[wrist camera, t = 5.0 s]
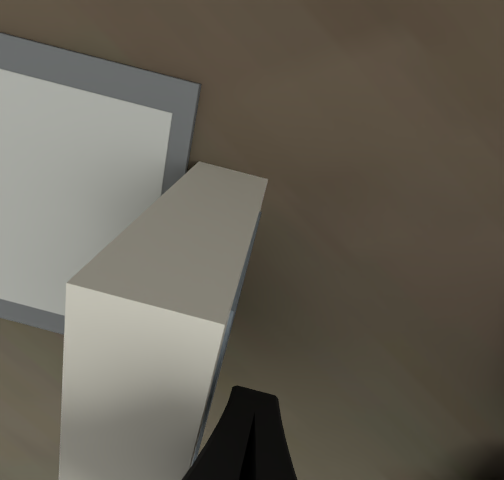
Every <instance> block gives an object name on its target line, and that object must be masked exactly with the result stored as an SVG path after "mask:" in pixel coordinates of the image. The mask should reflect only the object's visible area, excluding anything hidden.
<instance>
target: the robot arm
mask: <svg viewBox="0 0 504 480" xmlns="http://www.w3.org/2000/svg"><path fill="white" fill-rule="evenodd" d="M182 480H297V477H296V474H295V471H294V468H293V464H292V461H291V457H290V454H289V450H288V446H287V442H286V438H285V434H284V430H283V425H282V420H281V415H280V409H279V401H278V398H277V397H276V396H275V395H271V394H267V393H264V392H260V391H256V390H252V389H249V388H245V387H241V386H234V387H232V391H231V394H230V398H229V401H228V403H227V406H226V408H225V410H224V412H223V414H222V416H221V418H220V420H219V422H218V424H217V426H216V427H215V429H214V431H213V433H212V434H211V436H210V438H209V440H208V441H207V443H206V445H205V446H204V448H203V449H202V451H201V452H200V454H199V455H198V457H197V458H196V460H195V461H194V463H193V464H192V466H191V467H190V469H189V470H188V471H187V473H186V474H185V476H184V477H183V478H182Z"/></svg>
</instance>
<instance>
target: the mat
mask: <svg viewBox="0 0 504 480" xmlns="http://www.w3.org/2000/svg"><path fill="white" fill-rule="evenodd" d="M200 89H201V84H199V83H195V82H191V81H187V80H183V79H179V78H175V77H172V76H168V75H164V74H160V73H156V72H152V71H148V70H144V69H141V68H137V67H133V66H129V65H125V64H121V63H117V62H113V61H109V60H106V59H102V58H98V57H94V56H90V55H86V54H82V53H78V52H75V51H71V50H67V49H63V48H59V47H55V46H51V45H47V44H43V43H40V42H36V41H32V40H28V39H24V38H20V37H16V36H12V35H9V34H5V33H1V32H0V318H3V319H7V320H11V321H15V322H19V323H22V324H26V325H30V326H34V327H37V328H41V329H45V330H49V331H52V332H56V333H60V334H64V328H65V302H66V283H67V282H68V281H69V280H70V279H71V278H72V277H73V276H74V275H75V274H77V273H78V272H79V271H80V270H81V269H82V268H83V267H84V266H85V265H86V264H87V263H89V262H90V261H91V260H92V259H93V258H94V257H95V256H96V255H97V254H98V253H99V252H101V251H102V250H103V249H104V248H105V247H106V246H107V245H108V244H109V243H110V242H111V241H113V240H114V239H115V238H116V237H117V236H118V235H119V234H120V233H121V232H122V231H123V230H125V229H126V228H127V227H128V226H129V225H130V224H131V223H132V222H133V221H134V220H135V219H137V218H138V217H139V216H140V215H141V214H142V213H143V212H144V211H145V210H146V209H147V208H149V207H150V206H151V205H152V204H153V203H154V202H155V201H156V200H157V199H158V198H159V197H161V196H162V195H163V194H164V193H165V192H166V191H167V190H168V189H169V188H170V187H171V186H173V185H174V184H175V183H176V182H177V181H178V180H179V179H180V178H181V177H182V176H183V175H185V174H186V173H187V168H188V162H189V156H190V150H191V144H192V138H193V132H194V126H195V120H196V114H197V107H198V101H199V95H200Z"/></svg>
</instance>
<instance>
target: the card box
mask: <svg viewBox="0 0 504 480" xmlns="http://www.w3.org/2000/svg"><path fill="white" fill-rule="evenodd" d="M267 182H268V179H265V178H261V177H258V176H254V175H250V174H246V173H242V172H238V171H234V170H231V169H227V168H223V167H219V166H215V165H211V164H207V163H204V162H200V161H199V162H198V163H197V164H195V165H194V166H193V167H192V168H191V169H190V170H189V171H188V172H187V173H186V174H185V175H183V176H182V177H181V178H180V179H179V180H178V181H177V182H176V183H175V184H174V185H173V186H171V187H170V188H169V189H168V190H167V191H166V192H165V193H164V194H163V195H162V196H161V197H159V198H158V199H157V200H156V201H155V202H154V203H153V204H152V205H151V206H150V207H149V208H147V209H146V210H145V211H144V212H143V213H142V214H141V215H140V216H139V217H138V218H137V219H135V220H134V221H133V222H132V223H131V224H130V225H129V226H128V227H127V228H126V229H125V230H123V231H122V232H121V233H120V234H119V235H118V236H117V237H116V238H115V239H114V240H113V241H111V242H110V243H109V244H108V245H107V246H106V247H105V248H104V249H103V250H102V251H101V252H99V253H98V254H97V255H96V256H95V257H94V258H93V259H92V260H91V261H90V262H89V263H87V264H86V265H85V266H84V267H83V268H82V269H81V270H80V271H79V272H78V273H77V274H75V275H74V276H73V277H72V278H71V279H70V280H69V281H68V282H67V283H66V302H65V328H64V354H63V380H62V407H61V433H60V459H59V480H182V478H183V477H184V476H185V474H186V473H187V471H188V470H189V469H190V467H191V466H192V464H193V463H194V461H195V460H196V458H197V455H198V451H199V448H200V444H201V440H202V436H203V433H204V429H205V425H206V422H207V418H208V414H209V410H210V407H211V403H212V399H213V395H214V392H215V388H216V384H217V381H218V377H219V373H220V369H221V366H222V362H223V358H224V354H225V351H226V347H227V343H228V339H229V336H230V332H231V328H232V324H233V320H234V317H235V313H236V309H237V305H238V301H239V297H240V293H241V289H242V286H243V282H244V278H245V274H246V270H247V266H248V262H249V259H250V255H251V251H252V247H253V243H254V239H255V235H256V232H257V228H258V224H259V220H260V216H261V212H260V209H261V205H262V201H263V197H264V194H265V190H266V186H267Z"/></svg>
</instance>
